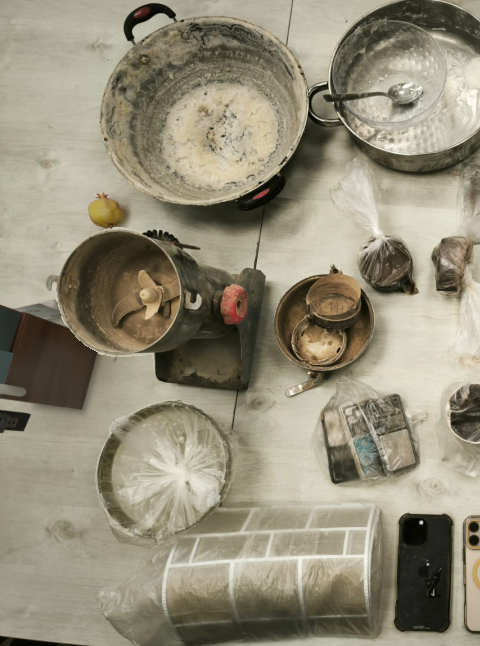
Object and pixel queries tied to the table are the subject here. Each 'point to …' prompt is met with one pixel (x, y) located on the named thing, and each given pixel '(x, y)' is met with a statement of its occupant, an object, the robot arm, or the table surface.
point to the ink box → (42, 309)
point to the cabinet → (45, 360)
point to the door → (3, 359)
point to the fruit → (105, 212)
